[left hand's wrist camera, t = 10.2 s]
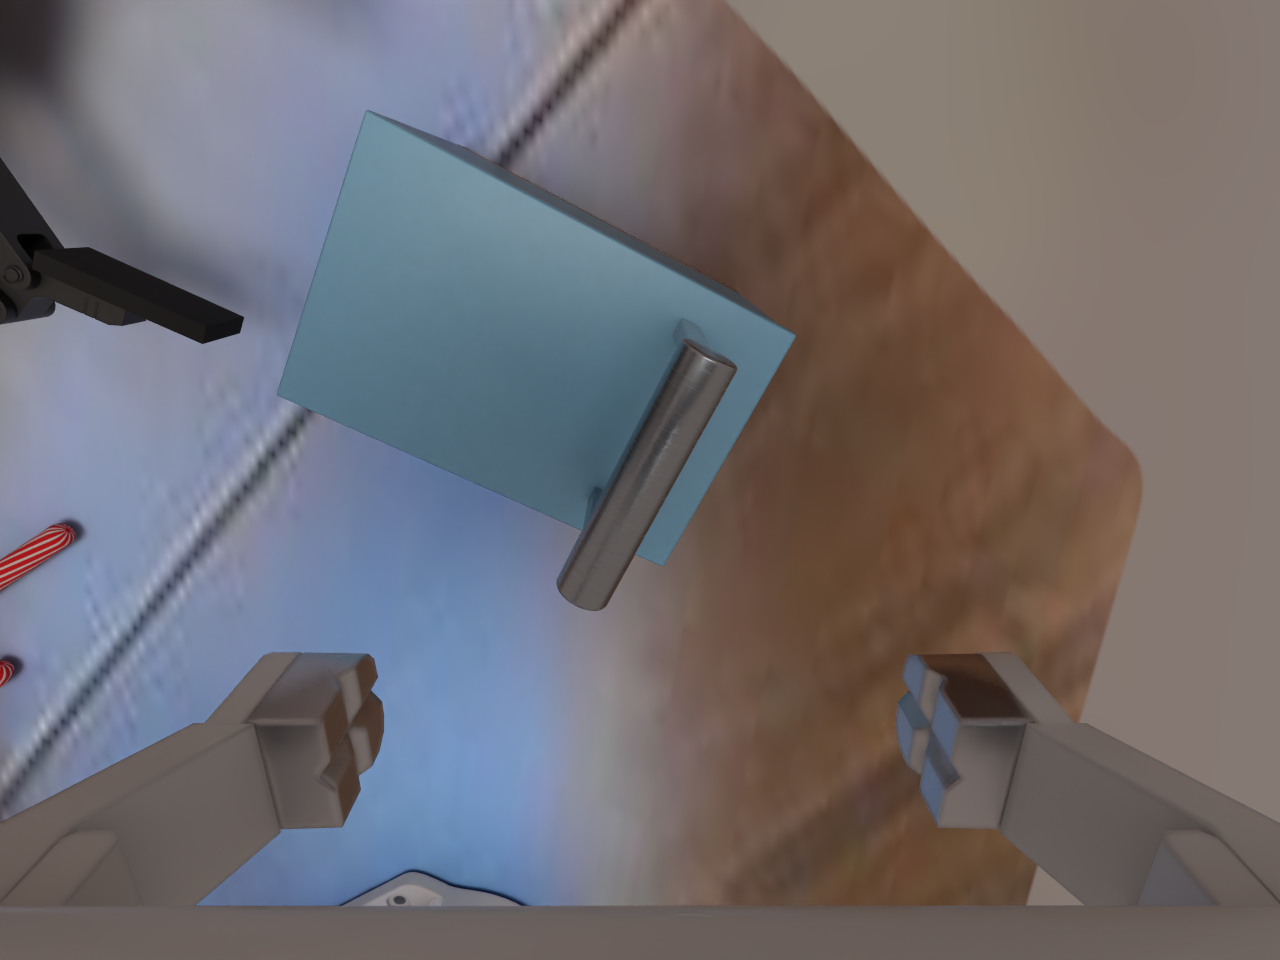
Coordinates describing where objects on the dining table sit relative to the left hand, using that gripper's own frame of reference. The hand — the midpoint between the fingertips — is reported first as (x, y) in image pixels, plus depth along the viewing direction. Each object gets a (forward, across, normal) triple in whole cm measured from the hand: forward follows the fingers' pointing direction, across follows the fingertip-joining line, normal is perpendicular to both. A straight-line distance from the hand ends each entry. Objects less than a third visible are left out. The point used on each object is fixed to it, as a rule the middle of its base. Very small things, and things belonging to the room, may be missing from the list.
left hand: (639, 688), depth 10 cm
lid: (+16, +4, -2) cm, 16 cm away
